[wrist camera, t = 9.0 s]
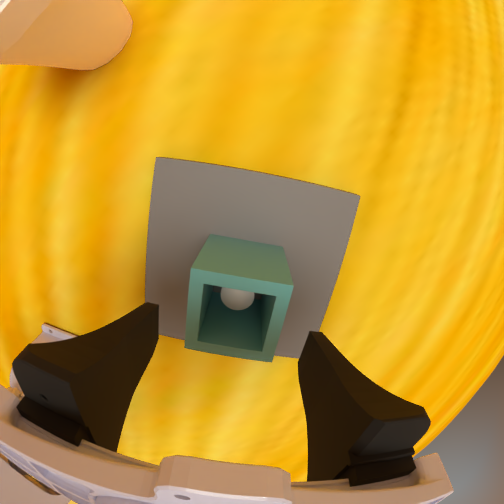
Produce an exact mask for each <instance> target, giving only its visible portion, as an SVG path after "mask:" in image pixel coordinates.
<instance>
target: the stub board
mask: <svg viewBox="0 0 504 504" xmlns="http://www.w3.org/2000/svg"><path fill="white" fill-rule="evenodd" d="M359 199H360V196H359V195H357V194H353V193H350V192H346V191H342V190H338V189H334V188H330V187H326V186H322V185H318V184H314V183H309V182H305V181H301V180H296V179H291V178H287V177H282V176H277V175H272V174H267V173H262V172H257V171H252V170H246V169H240V168H235V167H229V166H223V165H216V164H210V163H203V162H196V161H189V160H181V159H173V158H165V157H156V162H155V169H154V176H153V184H152V193H151V202H150V212H149V224H148V237H147V254H146V279H145V303H146V302H150V303H154V304H158V305H159V334H160V335H164V336H168V337H173V338H177V339H182V340H185V331H186V317H187V304H188V293H189V282H190V272H191V267H192V265H193V263H194V261H195V260H196V258H197V256H198V254H199V253H200V251H201V249H202V247H203V246H204V244H205V242H206V240H207V239H208V237H209V235H210V234H214V235H220V236H225V237H231V238H237V239H242V240H248V241H254V242H259V243H265V244H270V245H276V246H281V247H283V249H284V252H285V256H286V259H287V263H288V267H289V270H290V274H291V277H292V281H293V285H294V287H293V291H292V294H291V298H290V302H289V305H288V309H287V312H286V316H285V319H284V323H283V326H282V330H281V333H280V337H279V340H278V343H277V347H276V350H275V353H274V356H283V357H291V358H300V355H301V353H302V350H303V347H304V345H305V342H306V339H307V336H308V334H309V331H316V332H319V329H320V326H321V324H322V321H323V318H324V315H325V313H326V310H327V307H328V304H329V301H330V298H331V295H332V292H333V289H334V286H335V283H336V280H337V277H338V274H339V271H340V268H341V264H342V261H343V258H344V254H345V251H346V248H347V244H348V241H349V237H350V234H351V230H352V226H353V223H354V219H355V215H356V211H357V207H358V203H359ZM212 292H218V293H221V300H222V302H223V303H224V304H225V306H227V307H228V308H230V309H233V310H243V309H246V308H248V307H249V306H250V305H251V304H252V303H253V301H254V299H259V300H261V297H262V294H260V293H254V292H248V291H242V290H237V289H231V288H225V287H220V286H214V285H213V291H212Z"/></svg>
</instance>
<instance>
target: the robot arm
mask: <svg viewBox="0 0 504 504" xmlns="http://www.w3.org/2000/svg"><path fill="white" fill-rule="evenodd" d="M42 330H43V332H42V333H41V334H40V335H39V336H38V337H37V338H36V339H35V340H34V341H33V342H32V343H31V344H28V345H27V346H26V347H25V349H24V350H23V351H22V352H21V353H20V354H19V355H18V356H17V357H16V358H15V359H14V361H13V363H12V366H13V367H12V370H11V373H10V387H8V388H7V389H6V388H5V387H3V386H2V385H1V384H0V504H68V503H69V501H70V500H72V501H74V502H76V503H78V504H436V503H438V502H439V501H441V500H442V499H444V498H445V497H447V496H448V495H449V494H451V493H452V492H453V491H454V490H453V487H452V485H451V483H450V480H449V478H448V476H447V473H446V471H445V468H444V466H443V464H442V462H441V459H440V457H439V455H438V453H433V454H430V455H426V456H422V457H420V458H417V459H416V460H414V461H413V458H412V455H413V454H414V453H415V451H414V448H413V446H414V445H415V444H416V443H417V442H418V441H419V440H420V439H421V438H422V437H423V435H424V434H425V433H426V432H427V430H428V429H429V426H430V422H431V421H430V419H429V417H428V415H427V413H426V411H425V409H424V407H422V406H419V405H416V404H414V403H411V402H408V401H406V400H404V399H402V398H400V397H397V396H395V395H394V394H392V393H390V392H388V391H386V390H385V389H383V388H382V387H380V386H378V385H377V384H375V383H374V382H373V381H371V380H370V379H369V378H367V377H366V376H365V375H363V374H362V373H361V372H360V371H359V370H358V369H357V368H355V367H354V366H353V365H352V364H351V363H350V362H349V361H348V360H347V359H346V358H345V357H344V356H343V355H342V354H341V353H340V352H339V351H338V349H337V348H336V347H335V346H334V345H333V344H332V343H331V342H330V341H329V340H328V338H327V337H326V336H325V335H324V334H323V333H322V332H316V331H309V334H308V336H307V339H306V342H305V345H304V347H303V350H302V353H301V355H300V358H299V361H298V376H299V384H300V389H301V394H302V399H303V404H304V409H305V414H306V421H307V435H308V475H307V482H291V480H290V473H288V472H286V471H284V470H282V469H281V468H278V467H271V466H263V465H249V464H239V463H230V462H222V461H215V460H209V459H203V458H197V457H191V456H181V455H175V456H169V457H165V458H163V460H162V461H161V463H160V466H158V465H154V464H151V463H147V462H144V461H140V460H137V459H134V458H131V457H128V456H125V455H122V454H119V453H116V452H117V448H118V443H119V439H120V435H121V431H122V428H123V424H124V421H125V417H126V414H127V411H128V408H129V405H130V402H131V399H132V396H133V394H134V391H135V389H136V387H137V385H138V383H139V381H140V379H141V377H142V375H143V373H144V371H145V369H146V367H147V365H148V363H149V361H150V359H151V357H152V355H153V353H154V350H155V347H156V344H157V341H158V339H159V305H158V304H154V303H150V302H146V303H144V304H143V305H141V306H139V307H138V308H136V309H135V310H133V311H131V312H130V313H128V314H126V315H125V316H123V317H121V318H120V319H118V320H116V321H114V322H112V323H110V324H108V325H106V326H104V327H102V328H100V329H98V330H95V331H92V332H90V333H87V334H84V335H81V336H75V335H73V334H70V333H67V332H65V331H62V330H60V329H57V328H55V327H52V326H50V325H48V324H45V323H44V324H42ZM26 472H27V473H26ZM29 474H30V475H31V476H30V475H29ZM32 476H33V477H34V478H36V479H37V480H36V479H34V478H33V477H32ZM38 480H39V481H38Z"/></svg>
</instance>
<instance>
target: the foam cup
mask: <svg viewBox="0 0 504 504" xmlns="http://www.w3.org/2000/svg"><path fill="white" fill-rule="evenodd" d="M132 25H133V21H132V19H131V16H130V14H129V12H128V10H127V8H126V7H125V5H124V3H123V2H122V0H0V64H16V65H36V66H48V67H58V68H66V69H74V70H94V69H96V68H98V67H100V66H102V65H104V64H107V63H108V62H109V61H110V60H111V59H113V58H114V57H115V56H116V55H117V54H118V53H119V52H120V51H121V50H122V49H123V47H124V45H125V44H126V42H127V41H128V39H129V37H130V35H131V30H132Z"/></svg>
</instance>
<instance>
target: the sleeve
mask: <svg viewBox="0 0 504 504" xmlns="http://www.w3.org/2000/svg"><path fill="white" fill-rule="evenodd" d="M213 285H214V286H220V287H225V288H231V289H237V290H242V291H248V292H254V293H260V294H262V297H261V300H259V299H254V301H253V303H252V304H251V305H250V306H249V307H248V308H246V309H243V310H233V309H230V308H228V307H227V306H225V304H224V303H223V302H222V300H221V293H218V292H212V291H213ZM293 287H294V285H293V281H292V277H291V274H290V270H289V267H288V263H287V259H286V256H285V252H284V249H283V247H281V246H276V245H270V244H265V243H259V242H254V241H248V240H242V239H237V238H231V237H225V236H220V235H214V234H210V235H209V237H208V239H207V240H206V242H205V244H204V246H203V247H202V249H201V251H200V253H199V254H198V256H197V258H196V260H195V261H194V263H193V265H192V267H191V272H190V282H189V293H188V304H187V317H186V331H185V347H184V348H187V349H192V350H197V351H202V352H208V353H213V354H219V355H225V356H231V357H237V358H243V359H250V360H257V361H265V362H272V360H273V357H274V353H275V350H276V347H277V343H278V340H279V337H280V333H281V330H282V326H283V323H284V319H285V316H286V312H287V309H288V305H289V302H290V298H291V294H292V291H293Z"/></svg>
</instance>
